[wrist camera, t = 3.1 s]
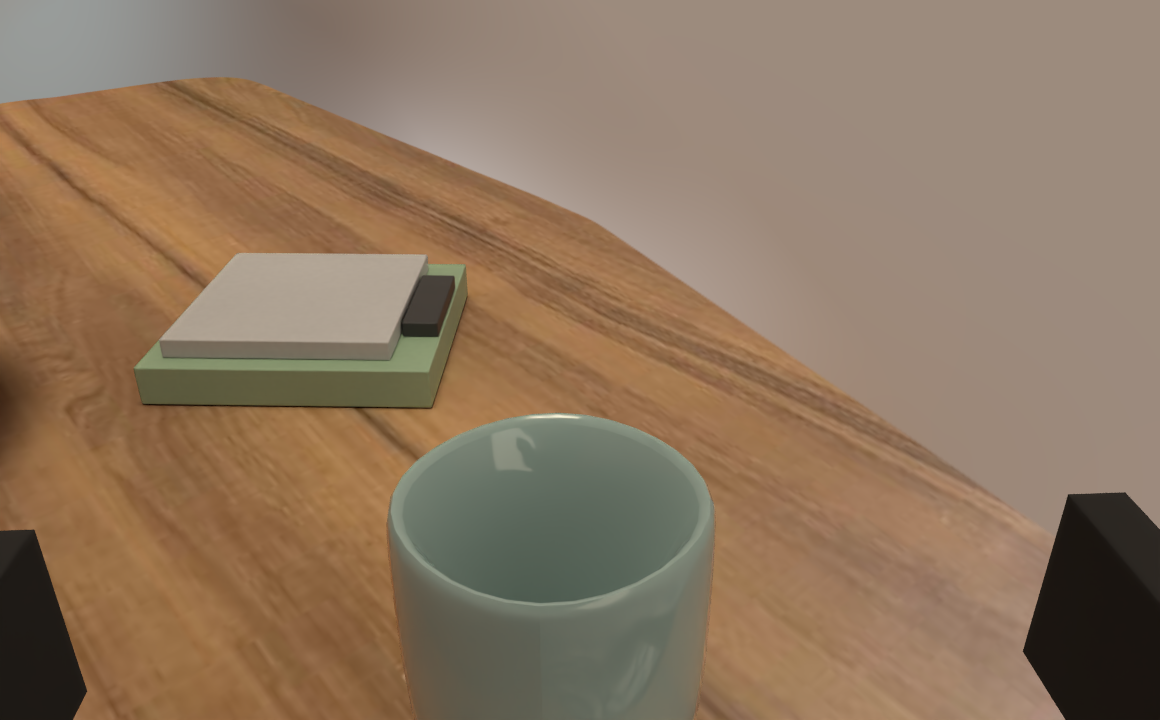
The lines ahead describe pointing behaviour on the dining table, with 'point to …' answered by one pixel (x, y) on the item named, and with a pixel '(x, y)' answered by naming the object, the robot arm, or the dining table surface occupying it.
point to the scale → (311, 333)
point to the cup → (552, 574)
